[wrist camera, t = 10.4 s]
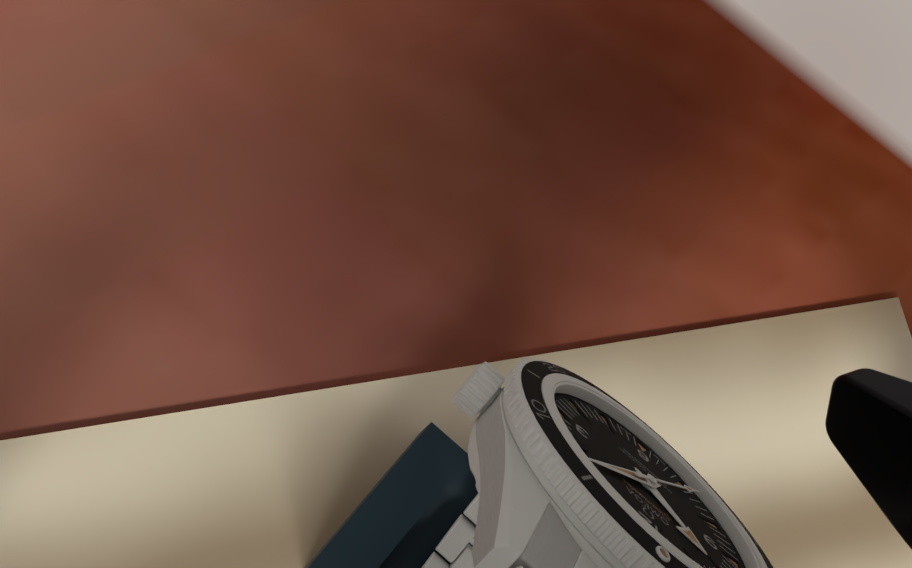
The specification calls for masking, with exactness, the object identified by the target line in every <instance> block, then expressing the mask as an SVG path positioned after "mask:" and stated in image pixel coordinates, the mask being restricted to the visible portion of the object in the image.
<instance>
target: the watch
mask: <svg viewBox="0 0 912 568" xmlns="http://www.w3.org/2000/svg"><path fill="white" fill-rule="evenodd" d="M504 380H505V381H504ZM503 382H504V387H503V388H501V385H502V383H503ZM451 402H452V403H453V404H454V405H456V406H457V407H458V408H459V409H460V410H461V411H462V412H464V413H465V414H466V415H467V416H468V417H469V418H473V417H474V416H475V415H476V414H478V413H480V415H479V416H478V417H477V418H476V420H475V422H474V424H473V427H472V431H471V434H470V439H469V444H468V453H467V452H465V451H464V450H463V449H462V448H461V447H460V446H459V445H457V444H456V443H455V442H454V441H453V440H452V439H451V438H449V437H448V436H447V435H446V434H445V433H444V432H443V431H441V430H440V429H439V428H438V427H437V426H436V425H435V424H433V423H432V422H431V423H430V424H429V425H427V426H426V427H425V428H424V429H423V430H422V431H421V432H420V433H419V434H418V436H417V437H416V438H415V439H414V440H413V441H412V443H411V444H410V445H409V446H408V447H407V449H406V450H405V451H404V452H403V453H402V454H401V456H400V457H399V458H398V459H397V460H396V461H395V463H394V464H393V465H392V466H391V467H390V469H389V470H388V471H387V472H386V473H385V474H384V476H383V477H382V478H381V479H380V480H379V482H378V483H377V484H376V485H375V486H374V487H373V489H372V490H371V491H370V492H369V493H368V494H367V496H366V497H365V498H364V499H363V500H362V502H361V503H360V504H359V505H358V506H357V507H356V509H355V510H354V511H353V512H352V513H351V515H350V516H349V517H348V518H347V519H346V520H345V522H344V523H343V524H342V525H341V526H340V527H339V529H338V530H337V531H336V532H335V533H334V535H333V536H332V537H331V538H330V539H329V540H328V542H327V543H326V544H325V545H324V546H323V548H322V549H321V550H320V551H319V552H318V553H317V555H316V556H315V557H314V558H313V559H312V560H311V562H310V563H309V564H308V565H307V566H306V568H773V566H772V564H771V563H770V561H769V559H768V558H767V556H766V555H765V553H764V552H763V550H762V549H761V547H760V546H759V545H758V543H757V542H756V540H755V539H754V538H753V536H752V535H751V534H750V532H749V531H748V530H747V528H746V527H745V526H744V524H743V523H742V522H741V521H740V519H739V518H738V517H737V516H736V514H735V513H734V512H733V511H732V510H731V508H730V507H729V506H728V505H727V504H726V503H725V501H724V500H723V499H722V498H721V497H720V496H719V495H718V493H717V492H716V491H715V490H714V489H713V488H712V487H711V486H710V485H709V484H708V482H707V481H706V480H705V479H704V478H703V477H702V476H701V475H700V474H699V473H698V472H697V471H696V470H695V469H694V468H693V467H692V466H691V465H690V464H689V463H688V462H687V461H686V460H685V459H684V458H683V457H682V456H681V455H680V454H679V453H678V452H677V451H676V450H675V449H674V448H673V447H672V446H671V445H670V444H668V443H667V442H666V441H665V440H664V439H663V438H662V437H661V436H660V435H659V434H657V433H656V432H655V431H654V430H653V429H652V428H651V427H649V426H648V425H647V424H646V423H645V422H643V421H642V420H641V419H640V418H639V417H637V416H636V415H635V414H634V413H633V412H631V411H630V410H629V409H627V408H626V407H625V406H624V405H622V404H621V403H620V402H618V401H617V400H616V399H614V398H613V397H611V396H610V395H609V394H607V393H606V392H604V391H603V390H601V389H600V388H598V387H597V386H595V385H594V384H592V383H591V382H589V381H587V380H586V379H584V378H582V377H581V376H579V375H577V374H575V373H573V372H571V371H569V370H567V369H565V368H563V367H560V366H558V365H556V364H553V363H550V362H547V361H544V360H540V359H533V358H532V359H530V358H529V359H523V360H521V361H520V362H518V363H517V364H516V365H515V367H514V368H513V369H512V370H511V371H510V372H509V373H508V375H507V376H506V378H505V377H504V376H502V375H501V374H500V373H499V372H498V371H497V370H496V369H494V368H493V367H492V366H491V365H490V364H489V363H487V362H486V361H485V362H484V363H482V364H481V365H480V366H479V367H477V368H476V369H475V370H474V371H473V372H472V373H471V374H470V375H469V377H468V378H467V379H466V380H465V381H464V382H463V384H462V385H461V386H460V388H459V389H458V391H457V392H456V394H455V395H454V397H453V399H452V401H451Z"/></svg>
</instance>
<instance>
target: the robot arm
mask: <svg viewBox="0 0 912 568" xmlns="http://www.w3.org/2000/svg"><path fill="white" fill-rule="evenodd" d="M825 426H826V431H827V434H828V436H829V438H830V440H831V442H832V443H833V445H834V446H835V447H836V449H837V450H838V452H839V453H840V454H841V456H842V457H843V458H844V460H845V461H846V463H847V464H848V465H849V467H850V468H851V469H852V471H853V472H854V474H855V475H856V476H857V478H858V479H859V480H860V482H861V483H862V485H863V486H864V487H865V489H866V490H867V491H868V493H869V494H870V496H871V497H872V498H873V500H874V501H875V502H876V504H877V505H878V507H879V508H880V509H881V511H882V512H883V513H884V515H885V516H886V518H887V519H888V520H889V522H890V523H891V524H892V526H893V527H894V528H895V530H896V531H897V532H898V533H899V535H900V536H901V537H902V539H903V540H904V541H905V542H906V543H907V545H908V546H909V547H910V548H911V549H912V382H910V381H907V380H904V379H901V378H898V377H895V376H892V375H888V374H885V373H882V372H879V371H876V370H873V369H869V368H861V369H857V370H854V371H851V372H848V373H845V374H842V375H840V376H838V377H837V378H836V379H835V380H834V381H833V384H832V388H831V393H830V398H829V404H828V409H827V415H826V420H825Z"/></svg>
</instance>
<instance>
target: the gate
mask: <svg viewBox="0 0 912 568" xmlns="http://www.w3.org/2000/svg"><path fill="white" fill-rule="evenodd" d="M529 358H530V359H532V358H533V359H540V360H544V361H547V362H550V363H553V364H556V365H558V366H560V367H563V368H565V369H567V370H569V371H571V372H573V373H575V374H577V375H579V376H581V377H582V378H584V379H586V380H587V381H589V382H591V383H592V384H594V385H595V386H597V387H598V388H600V389H601V390H603V391H604V392H606V393H607V394H609V395H610V396H611V397H613V398H614V399H616V400H617V401H618V402H620V403H621V404H622V405H624V406H625V407H626V408H627V409H629V410H630V411H631V412H633V413H634V414H635V415H636V416H637V417H639V418H640V419H641V420H642V421H643V422H645V423H646V424H647V425H648V426H649V427H651V428H652V429H653V430H654V431H655V432H656V433H657V434H659V435H660V436H661V437H662V438H663V439H664V440H665V441H666V442H667V443H668V444H670V445H671V446H672V447H673V448H674V449H675V450H676V451H677V452H678V453H679V454H680V455H681V456H682V457H683V458H684V459H685V460H686V461H687V462H688V463H689V464H690V465H691V466H692V467H693V468H694V469H695V470H696V471H697V472H698V473H699V474H700V475H701V476H702V477H703V478H704V479H705V480H706V481H707V482H708V484H709V485H710V486H711V487H712V488H713V489H714V490H715V491H716V492H717V493H718V495H719V496H720V497H721V498H722V499H723V500H724V501H725V503H726V504H727V505H728V506H729V507H730V508H731V510H732V511H733V512H734V513H735V514H736V516H737V517H738V518H739V519H740V521H741V522H742V523H743V524H744V526H745V527H746V528H747V530H748V531H749V532H750V534H751V535H752V536H753V538H754V539H755V540H756V542H757V543H758V545H759V546H760V547H761V549H762V550H763V552H764V553H765V555H766V556H767V558H768V559H769V561H770V563H771V564H772V566H773V568H912V549H911V548H910V547H909V546H908V545H907V543H906V542H905V541H904V540H903V539H902V537H901V536H900V535H899V533H898V532H897V531H896V530H895V528H894V527H893V526H892V524H891V523H890V522H889V520H888V519H887V518H886V516H885V515H884V513H883V512H882V511H881V509H880V508H879V507H878V505H877V504H876V502H875V501H874V500H873V498H872V497H871V496H870V494H869V493H868V491H867V490H866V489H865V487H864V486H863V485H862V483H861V482H860V480H859V479H858V478H857V476H856V475H855V474H854V472H853V471H852V469H851V468H850V467H849V465H848V464H847V463H846V461H845V460H844V458H843V457H842V456H841V454H840V453H839V452H838V450H837V449H836V447H835V446H834V445H833V443H832V442H831V440H830V438H829V436H828V434H827V431H826V426H825V420H826V415H827V409H828V404H829V398H830V393H831V388H832V384H833V381H834V380H835V379H836V378H837V377H838V376H840V375H842V374H845V373H848V372H851V371H854V370H857V369H861V368H869V369H873V370H876V371H879V372H882V373H885V374H888V375H892V376H895V377H898V378H901V379H904V380H907V381H910V382H912V337H911V334H910V331H909V328H908V325H907V322H906V319H905V316H904V313H903V310H902V307H901V304H900V301H899V298H898V297H897V298H890V299H884V300H878V301H872V302H865V303H859V304H853V305H847V306H840V307H834V308H828V309H822V310H815V311H809V312H803V313H797V314H790V315H784V316H778V317H771V318H765V319H759V320H753V321H746V322H740V323H734V324H728V325H721V326H715V327H709V328H703V329H696V330H690V331H684V332H677V333H671V334H665V335H659V336H652V337H646V338H640V339H634V340H627V341H621V342H615V343H609V344H602V345H596V346H590V347H583V348H577V349H571V350H565V351H558V352H552V353H546V354H540V355H533V356H527V357H521V358H515V359H508V360H502V361H496V362H489V364H490V365H491V366H492V367H493V368H494V369H496V370H497V371H498V372H499V373H500V374H501V375H502V376H504V377H505V378H506V376H507V375H508V373H509V372H510V371H511V370H512V369H513V368H514V367H515V365H516V364H517V363H518V362H520V361H521V360H523V359H529ZM480 365H481V364H477V365H471V366H464V367H458V368H452V369H446V370H439V371H433V372H427V373H421V374H414V375H408V376H402V377H396V378H389V379H383V380H377V381H370V382H364V383H358V384H352V385H345V386H339V387H333V388H327V389H320V390H314V391H308V392H302V393H295V394H289V395H283V396H276V397H270V398H264V399H258V400H251V401H245V402H239V403H233V404H226V405H220V406H214V407H208V408H201V409H195V410H189V411H182V412H176V413H170V414H164V415H157V416H151V417H145V418H139V419H132V420H126V421H120V422H114V423H107V424H101V425H95V426H89V427H82V428H76V429H70V430H63V431H57V432H51V433H45V434H38V435H32V436H26V437H20V438H13V439H7V440H1V441H0V568H306V566H307V565H308V564H309V563H310V562H311V560H312V559H313V558H314V557H315V556H316V555H317V553H318V552H319V551H320V550H321V549H322V548H323V546H324V545H325V544H326V543H327V542H328V540H329V539H330V538H331V537H332V536H333V535H334V533H335V532H336V531H337V530H338V529H339V527H340V526H341V525H342V524H343V523H344V522H345V520H346V519H347V518H348V517H349V516H350V515H351V513H352V512H353V511H354V510H355V509H356V507H357V506H358V505H359V504H360V503H361V502H362V500H363V499H364V498H365V497H366V496H367V494H368V493H369V492H370V491H371V490H372V489H373V487H374V486H375V485H376V484H377V483H378V482H379V480H380V479H381V478H382V477H383V476H384V474H385V473H386V472H387V471H388V470H389V469H390V467H391V466H392V465H393V464H394V463H395V461H396V460H397V459H398V458H399V457H400V456H401V454H402V453H403V452H404V451H405V450H406V449H407V447H408V446H409V445H410V444H411V443H412V441H413V440H414V439H415V438H416V437H417V436H418V434H419V433H420V432H421V431H422V430H423V429H424V428H425V427H426V426H427V425H429V424H430V423H431V422H432V423H433V424H435V425H436V426H437V427H438V428H439V429H440V430H441V431H443V432H444V433H445V434H446V435H447V436H448V437H449V438H451V439H452V440H453V441H454V442H455V443H456V444H457V445H459V446H460V447H461V448H462V449H463V450H464V451H465V452H467V453H468V444H469V439H470V434H471V431H472V427H473V424H474V422H475V420H476V418H477V417H478V416H479V415H480V413H478V414H476V415H475V416H474V417H473V418H469V417H468V416H467V415H466V414H465V413H464V412H462V411H461V410H460V409H459V408H458V407H457V406H456V405H454V404H453V403H452V402H451V401H452V399H453V397H454V395H455V394H456V392H457V391H458V389H459V388H460V386H461V385H462V384H463V382H464V381H465V380H466V379H467V378H468V377H469V375H470V374H471V373H472V372H473V371H474V370H475V369H476V368H477V367H479V366H480ZM504 381H505V380H504ZM503 387H504V382H503V383H502V385H501V388H503Z"/></svg>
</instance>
